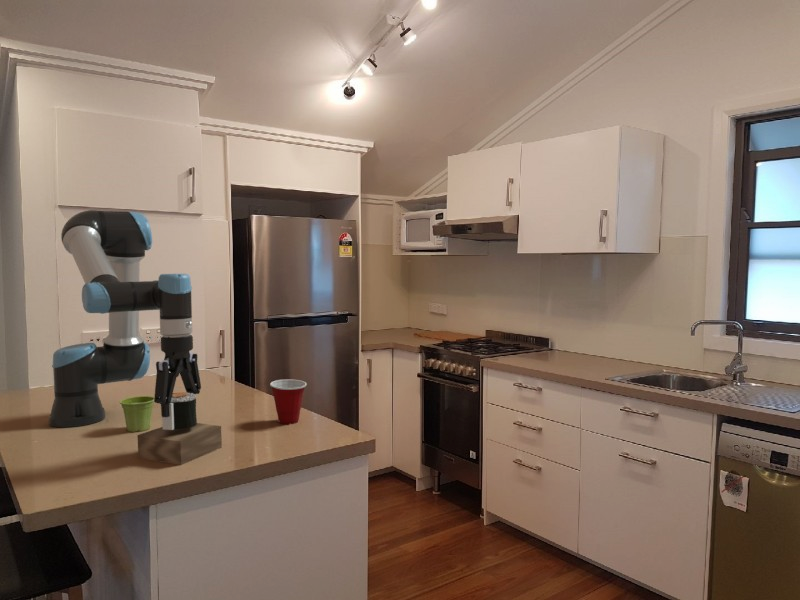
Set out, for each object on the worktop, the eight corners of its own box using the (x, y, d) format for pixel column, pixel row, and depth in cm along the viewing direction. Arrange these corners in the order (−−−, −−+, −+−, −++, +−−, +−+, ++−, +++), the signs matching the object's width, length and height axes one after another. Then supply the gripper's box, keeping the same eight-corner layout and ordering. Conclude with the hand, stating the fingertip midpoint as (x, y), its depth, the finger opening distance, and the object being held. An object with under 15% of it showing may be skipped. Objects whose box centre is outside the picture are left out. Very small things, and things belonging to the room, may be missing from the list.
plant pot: (163, 426, 171) (162, 397, 170) (139, 435, 162) (138, 404, 161) (138, 423, 174) (137, 395, 173) (113, 432, 165) (112, 402, 164)
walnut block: (138, 459, 143) (137, 435, 142) (180, 442, 156) (180, 420, 155) (181, 466, 137) (180, 441, 137) (221, 448, 150) (221, 426, 150)
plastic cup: (290, 428, 166) (289, 387, 166) (263, 423, 172) (262, 383, 171) (315, 419, 175) (314, 380, 175) (288, 415, 181) (287, 377, 180)
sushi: (161, 423, 148) (160, 392, 148) (196, 419, 151) (195, 389, 151) (162, 431, 141) (161, 399, 140) (198, 427, 144) (197, 395, 143)
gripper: (162, 341, 133) (166, 437, 135) (213, 330, 154) (216, 414, 155) (134, 340, 135) (138, 435, 137) (188, 330, 156) (191, 412, 157)
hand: (179, 424), depth 146 cm, fingers closed on sushi, 9 cm apart
